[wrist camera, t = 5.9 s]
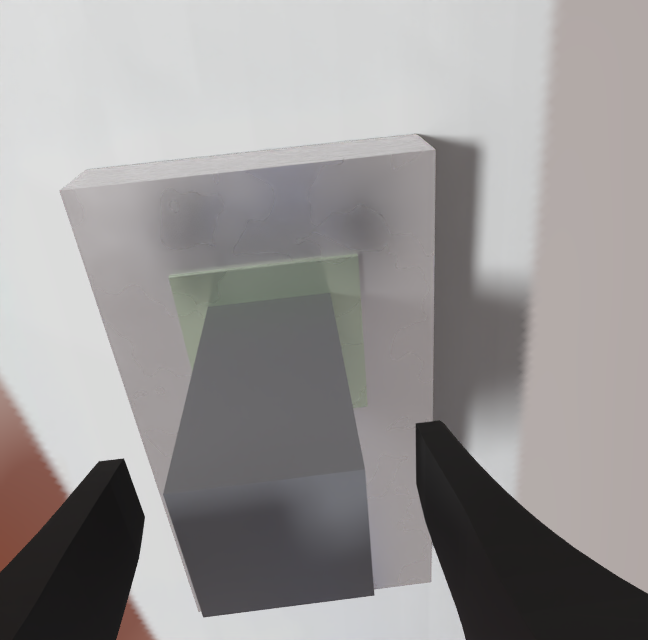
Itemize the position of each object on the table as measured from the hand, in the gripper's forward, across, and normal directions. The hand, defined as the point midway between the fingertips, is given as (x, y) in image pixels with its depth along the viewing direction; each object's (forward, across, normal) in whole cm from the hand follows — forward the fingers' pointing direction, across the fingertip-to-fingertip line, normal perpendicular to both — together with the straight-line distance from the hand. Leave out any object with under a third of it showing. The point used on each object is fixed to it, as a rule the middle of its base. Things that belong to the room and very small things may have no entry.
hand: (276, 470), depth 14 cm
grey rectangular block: (+6, 0, 0) cm, 6 cm away
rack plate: (+8, 0, +4) cm, 9 cm away
